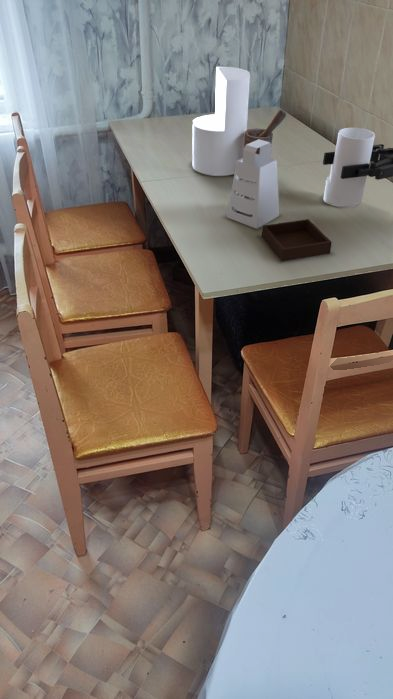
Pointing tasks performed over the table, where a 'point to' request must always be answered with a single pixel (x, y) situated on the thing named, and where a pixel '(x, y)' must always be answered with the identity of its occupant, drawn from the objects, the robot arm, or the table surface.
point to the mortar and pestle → (264, 131)
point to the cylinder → (222, 125)
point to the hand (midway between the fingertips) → (333, 165)
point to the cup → (350, 151)
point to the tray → (296, 240)
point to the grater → (255, 186)
